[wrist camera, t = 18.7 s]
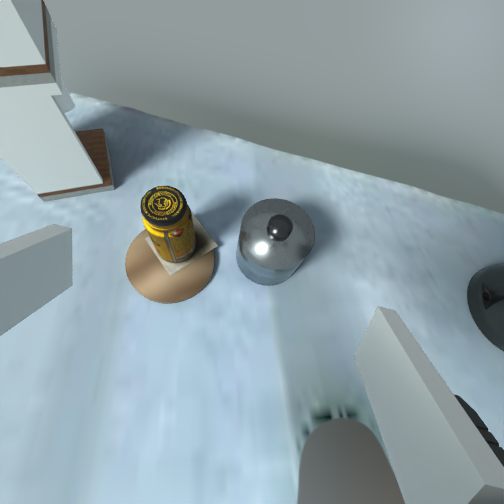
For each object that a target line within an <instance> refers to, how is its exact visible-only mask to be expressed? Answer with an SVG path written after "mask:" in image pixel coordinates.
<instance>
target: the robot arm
mask: <svg viewBox="0 0 504 504" xmlns="http://www.w3.org/2000/svg"><path fill="white" fill-rule="evenodd" d="M71 286H72V228H68V227H64V226H60V225H56V224H53V225H50V226H47V227H45V228H42V229H39V230H37V231H34V232H31V233H28V234H26V235H23V236H20V237H18V238H15V239H12V240H10V241H7V242H4V243H1V244H0V336H1V335H2V334H4V333H5V332H7V331H8V330H9V329H11V328H12V327H14V326H15V325H17V324H18V323H19V322H21V321H22V320H24V319H25V318H27V317H28V316H29V315H31V314H32V313H34V312H35V311H37V310H38V309H39V308H41V307H42V306H44V305H45V304H47V303H48V302H49V301H51V300H52V299H54V298H55V297H57V296H58V295H59V294H61V293H62V292H64V291H65V290H67V289H68V288H69V287H71ZM467 296H468V304H469V308H470V312H471V314H472V317H473V319H474V321H475V323H476V324H477V326H478V327H479V329H480V330H481V332H482V333H483V334H484V335H485V336H486V337H487V338H488V339H489V340H490V341H491V342H492V343H493V344H494V345H495V346H497V347H498V348H500V349H501V350H503V351H504V263H502V264H496V265H493V266H490V267H488V268H485V269H482V270H480V271H479V272H477V273H476V274H475V275H474V276H473V278H472V279H471V281H470V283H469V286H468V294H467ZM354 358H355V361H356V364H357V367H358V370H359V373H360V376H361V378H362V381H363V384H364V387H365V390H366V393H367V396H368V398H369V401H370V404H371V407H372V410H373V413H374V416H375V418H376V421H377V424H378V427H379V430H380V433H381V436H382V438H383V441H384V444H385V447H386V450H387V453H388V456H389V458H390V461H391V464H392V467H393V470H394V473H395V476H396V478H397V481H398V484H399V487H400V489H401V493H402V495H403V498H404V501H405V504H504V450H503V448H502V447H499V443H498V442H497V440H496V439H495V437H494V436H493V435H492V433H491V432H488V428H487V427H486V425H485V424H484V422H483V421H482V420H481V418H480V417H479V416H478V414H477V413H476V412H475V411H474V410H473V409H472V408H471V407H470V406H469V405H468V404H467V403H466V402H465V401H464V400H463V399H462V398H461V397H460V396H458V395H454V394H453V393H452V392H451V390H450V389H449V387H448V386H447V384H446V383H445V381H444V380H443V379H442V377H441V376H440V374H439V373H438V371H437V370H436V368H435V367H434V366H433V364H432V363H431V361H430V360H429V358H428V357H427V355H426V354H425V353H424V351H423V350H422V348H421V347H420V345H419V344H418V342H417V341H416V340H415V338H414V337H413V335H412V334H411V332H410V331H409V329H408V328H407V326H406V325H405V324H404V322H403V321H402V319H401V318H400V316H399V315H398V313H397V312H396V311H395V310H391V309H387V308H383V307H379V306H378V307H377V309H376V311H375V313H374V315H373V317H372V319H371V321H370V324H369V326H368V328H367V330H366V332H365V334H364V336H363V338H362V340H361V342H360V344H359V347H358V349H357V351H356V353H355V355H354Z"/></svg>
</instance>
